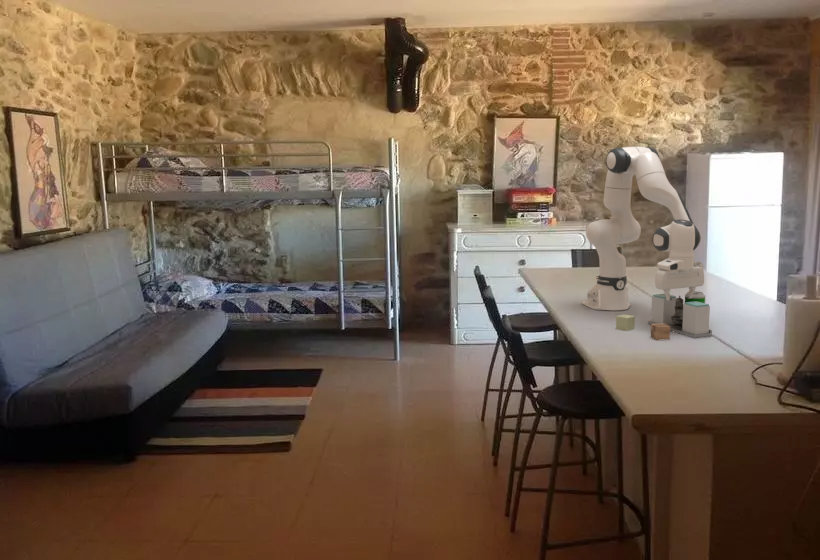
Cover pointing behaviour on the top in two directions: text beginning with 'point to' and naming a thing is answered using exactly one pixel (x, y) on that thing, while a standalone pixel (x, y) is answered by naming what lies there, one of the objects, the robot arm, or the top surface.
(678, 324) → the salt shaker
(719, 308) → the top surface
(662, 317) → the block
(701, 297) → the soda can
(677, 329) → the rail
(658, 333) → the block walnut
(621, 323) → the block olive
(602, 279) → the robot arm
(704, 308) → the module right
